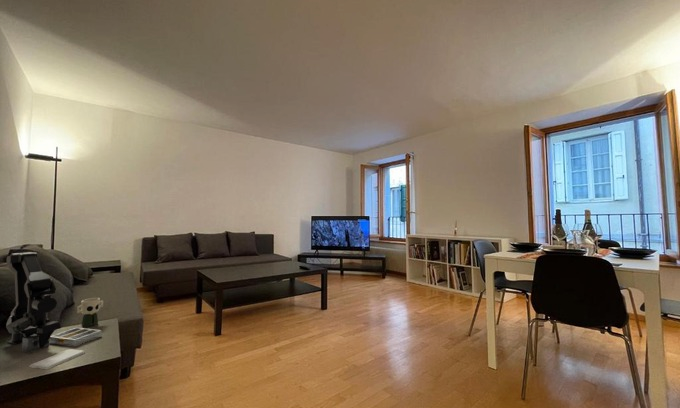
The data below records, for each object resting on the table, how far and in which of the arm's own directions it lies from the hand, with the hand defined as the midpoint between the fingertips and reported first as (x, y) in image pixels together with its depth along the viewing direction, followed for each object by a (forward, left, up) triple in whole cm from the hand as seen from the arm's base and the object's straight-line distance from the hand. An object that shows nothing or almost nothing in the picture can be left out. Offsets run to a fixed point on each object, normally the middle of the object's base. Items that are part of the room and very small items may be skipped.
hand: (35, 346), depth 116 cm
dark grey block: (0, 0, -1) cm, 1 cm away
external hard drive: (+20, -4, -2) cm, 21 cm away
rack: (+6, +10, -1) cm, 12 cm away
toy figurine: (-6, +24, -1) cm, 25 cm away
